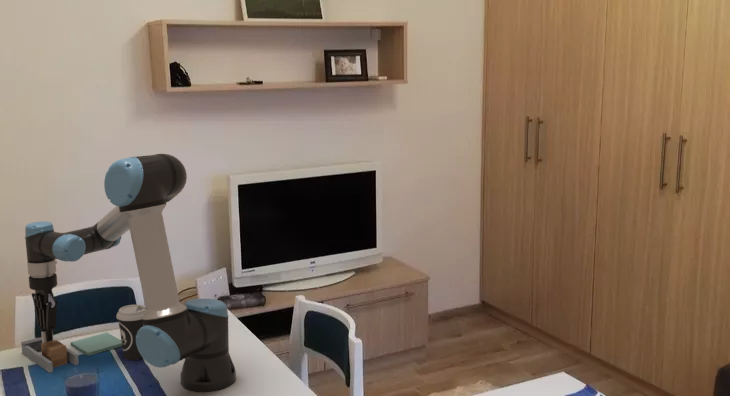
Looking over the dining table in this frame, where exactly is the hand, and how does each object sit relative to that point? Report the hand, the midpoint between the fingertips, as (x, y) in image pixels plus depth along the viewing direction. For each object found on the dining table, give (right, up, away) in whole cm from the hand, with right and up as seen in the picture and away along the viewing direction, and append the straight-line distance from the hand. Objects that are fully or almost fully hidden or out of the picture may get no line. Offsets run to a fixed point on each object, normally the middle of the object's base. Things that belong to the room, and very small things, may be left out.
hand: (48, 350), depth 211 cm
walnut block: (+3, -3, -2) cm, 5 cm away
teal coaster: (+11, -1, +11) cm, 15 cm away
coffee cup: (+25, -3, +3) cm, 26 cm away
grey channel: (+1, -3, 0) cm, 3 cm away
